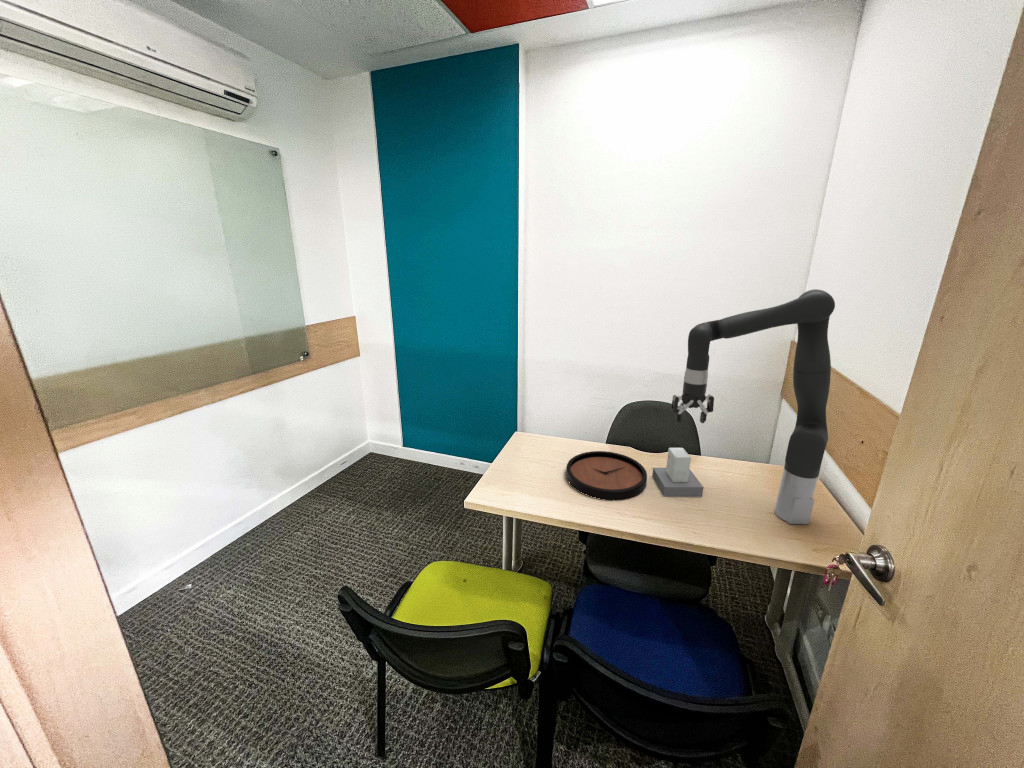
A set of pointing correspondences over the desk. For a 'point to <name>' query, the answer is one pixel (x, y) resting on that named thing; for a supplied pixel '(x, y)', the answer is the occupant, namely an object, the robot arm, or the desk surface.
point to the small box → (678, 464)
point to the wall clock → (606, 475)
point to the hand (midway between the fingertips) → (690, 422)
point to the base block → (677, 484)
